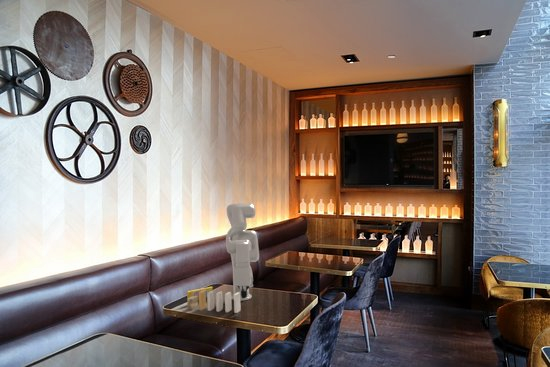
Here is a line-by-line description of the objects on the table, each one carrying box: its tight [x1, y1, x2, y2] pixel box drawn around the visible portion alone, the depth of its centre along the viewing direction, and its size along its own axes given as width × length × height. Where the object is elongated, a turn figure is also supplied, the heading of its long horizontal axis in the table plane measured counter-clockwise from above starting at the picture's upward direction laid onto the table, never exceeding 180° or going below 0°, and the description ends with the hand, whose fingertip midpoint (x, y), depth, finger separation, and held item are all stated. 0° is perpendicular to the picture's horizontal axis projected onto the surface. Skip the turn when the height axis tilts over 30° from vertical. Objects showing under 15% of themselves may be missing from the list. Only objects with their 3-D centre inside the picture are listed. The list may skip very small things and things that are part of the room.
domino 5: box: [233, 292, 242, 314], centre depth 219 cm, size 2×5×10 cm, turn 161°
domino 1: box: [198, 290, 207, 311], centre depth 226 cm, size 2×5×10 cm, turn 161°
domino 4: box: [224, 291, 233, 313], centre depth 221 cm, size 2×5×10 cm, turn 161°
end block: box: [187, 296, 199, 311], centre depth 228 cm, size 3×6×6 cm, turn 161°
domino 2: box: [206, 290, 215, 312], centre depth 225 cm, size 2×5×10 cm, turn 161°
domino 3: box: [215, 290, 224, 313], centre depth 223 cm, size 2×5×10 cm, turn 161°
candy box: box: [186, 286, 214, 306], centre depth 239 cm, size 16×2×8 cm, turn 126°
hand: (244, 297), depth 218 cm, fingers closed
